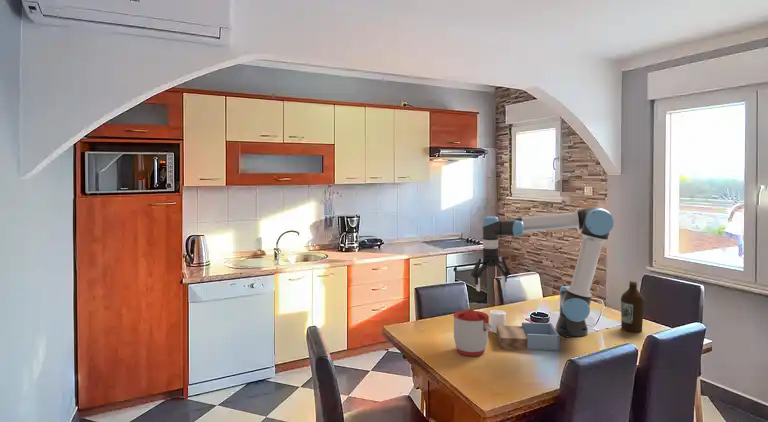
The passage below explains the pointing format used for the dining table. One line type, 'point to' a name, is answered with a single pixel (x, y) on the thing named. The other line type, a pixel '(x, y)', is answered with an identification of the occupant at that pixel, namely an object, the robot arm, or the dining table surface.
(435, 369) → the dining table surface
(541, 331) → the box
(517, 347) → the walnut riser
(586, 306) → the robot arm
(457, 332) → the citrus juicer
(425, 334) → the dining table surface
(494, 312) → the white cup
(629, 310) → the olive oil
